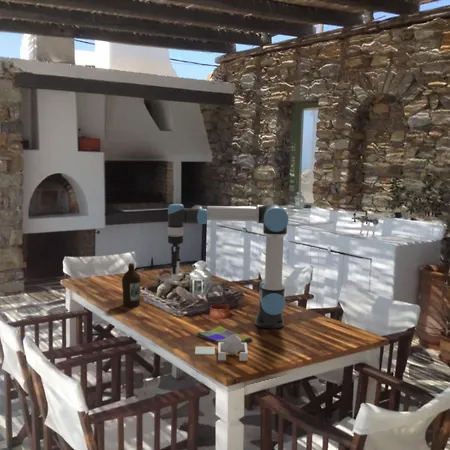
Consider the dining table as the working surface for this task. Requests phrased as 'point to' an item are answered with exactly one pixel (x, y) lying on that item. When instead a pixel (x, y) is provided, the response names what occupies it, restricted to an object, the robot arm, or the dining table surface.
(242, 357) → the pocket
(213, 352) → the mat
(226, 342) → the die
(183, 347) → the dining table surface
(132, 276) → the olive oil
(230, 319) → the dining table surface
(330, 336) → the dining table surface
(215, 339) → the dish towel
